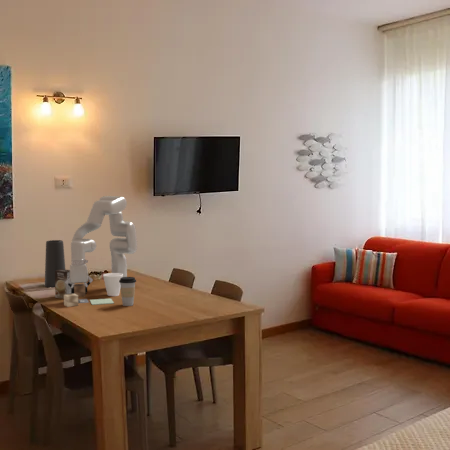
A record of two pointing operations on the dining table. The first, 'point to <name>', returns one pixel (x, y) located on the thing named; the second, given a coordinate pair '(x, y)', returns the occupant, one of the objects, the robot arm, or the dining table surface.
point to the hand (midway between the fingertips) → (79, 293)
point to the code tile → (83, 301)
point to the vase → (53, 260)
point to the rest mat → (101, 301)
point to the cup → (112, 283)
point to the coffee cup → (127, 290)
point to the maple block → (70, 300)
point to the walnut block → (79, 289)
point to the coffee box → (62, 283)
